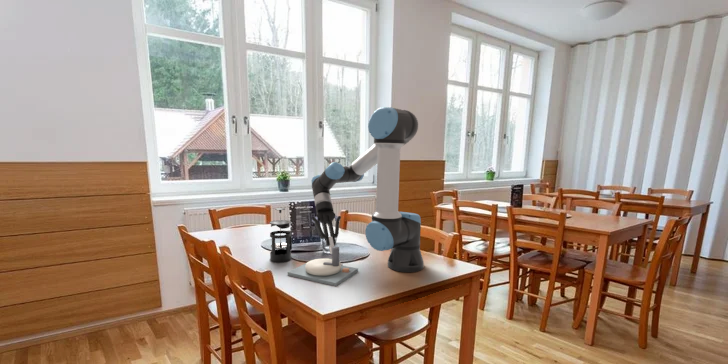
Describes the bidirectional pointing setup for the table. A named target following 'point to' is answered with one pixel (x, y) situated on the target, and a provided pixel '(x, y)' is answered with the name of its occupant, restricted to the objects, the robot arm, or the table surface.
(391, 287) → the table surface
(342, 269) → the dial board
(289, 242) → the french press
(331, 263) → the dial
